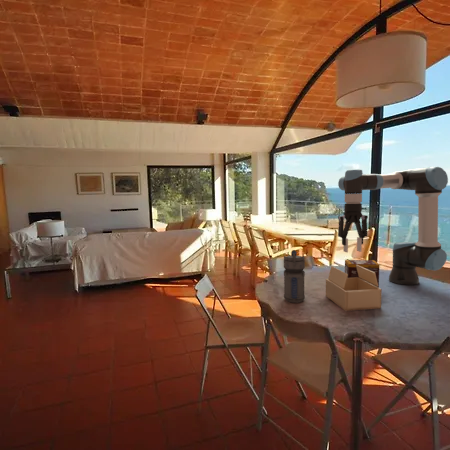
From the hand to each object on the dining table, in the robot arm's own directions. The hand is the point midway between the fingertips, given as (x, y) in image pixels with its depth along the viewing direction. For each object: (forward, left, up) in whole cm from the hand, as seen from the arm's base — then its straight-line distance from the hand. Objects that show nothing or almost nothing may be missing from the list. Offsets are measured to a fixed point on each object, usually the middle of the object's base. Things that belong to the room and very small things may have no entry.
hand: (352, 251), depth 143 cm
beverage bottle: (+26, -8, -25) cm, 37 cm away
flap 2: (-8, 0, -16) cm, 18 cm away
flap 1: (+8, 0, -16) cm, 18 cm away
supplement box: (-14, -16, -25) cm, 33 cm away
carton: (0, 0, -25) cm, 25 cm away
